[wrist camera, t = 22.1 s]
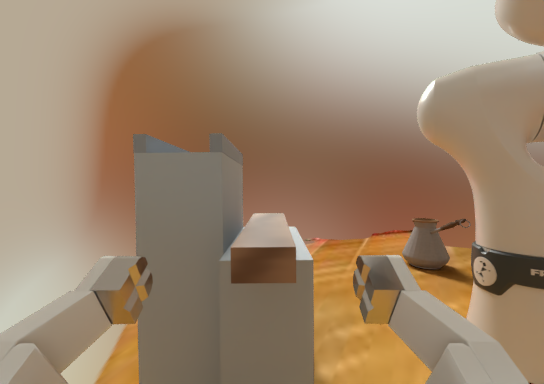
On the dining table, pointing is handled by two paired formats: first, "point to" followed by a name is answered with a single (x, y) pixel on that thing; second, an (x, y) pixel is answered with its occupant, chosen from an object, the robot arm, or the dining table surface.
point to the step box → (211, 277)
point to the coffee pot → (427, 244)
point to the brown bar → (264, 251)
